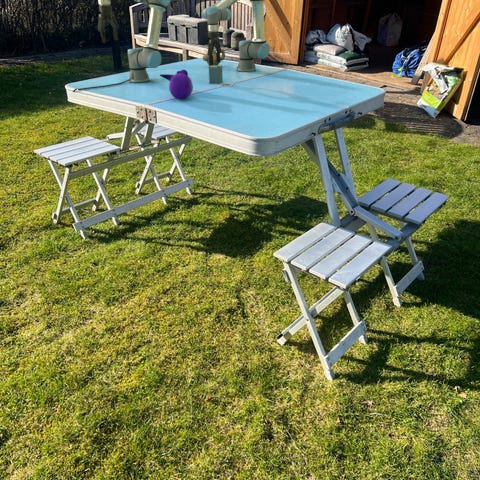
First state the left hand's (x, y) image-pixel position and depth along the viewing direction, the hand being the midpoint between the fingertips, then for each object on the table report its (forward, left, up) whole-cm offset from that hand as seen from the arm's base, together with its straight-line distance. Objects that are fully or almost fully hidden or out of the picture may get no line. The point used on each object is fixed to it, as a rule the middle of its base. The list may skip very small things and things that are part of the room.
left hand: (110, 41), depth 294 cm
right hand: (+71, +5, -19) cm, 74 cm away
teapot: (+87, +71, -32) cm, 117 cm away
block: (+71, +2, -32) cm, 78 cm away
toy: (+36, -34, -32) cm, 59 cm away
